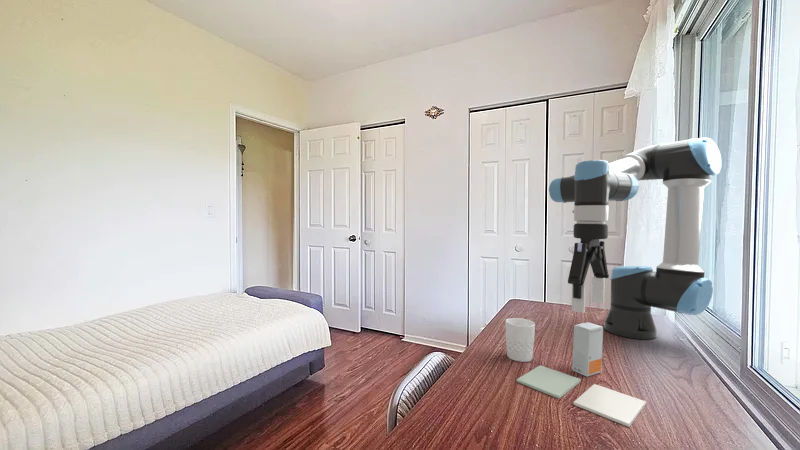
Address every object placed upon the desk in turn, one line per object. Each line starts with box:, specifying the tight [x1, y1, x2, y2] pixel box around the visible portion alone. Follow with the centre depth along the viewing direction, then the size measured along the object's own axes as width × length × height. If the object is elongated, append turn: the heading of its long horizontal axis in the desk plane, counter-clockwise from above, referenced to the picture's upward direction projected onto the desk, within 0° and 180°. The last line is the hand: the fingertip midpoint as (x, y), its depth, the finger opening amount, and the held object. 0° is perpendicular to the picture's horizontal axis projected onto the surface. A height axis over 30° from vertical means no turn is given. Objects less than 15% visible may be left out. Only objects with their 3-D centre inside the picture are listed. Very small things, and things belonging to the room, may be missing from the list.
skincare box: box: [571, 321, 604, 378], centre depth 87 cm, size 6×4×12 cm
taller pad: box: [573, 383, 647, 428], centre depth 71 cm, size 12×10×1 cm
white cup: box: [505, 317, 536, 363], centre depth 95 cm, size 8×8×10 cm
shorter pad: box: [516, 364, 582, 400], centre depth 81 cm, size 12×10×1 cm
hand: (588, 306), depth 85 cm, fingers open, 13 cm apart
